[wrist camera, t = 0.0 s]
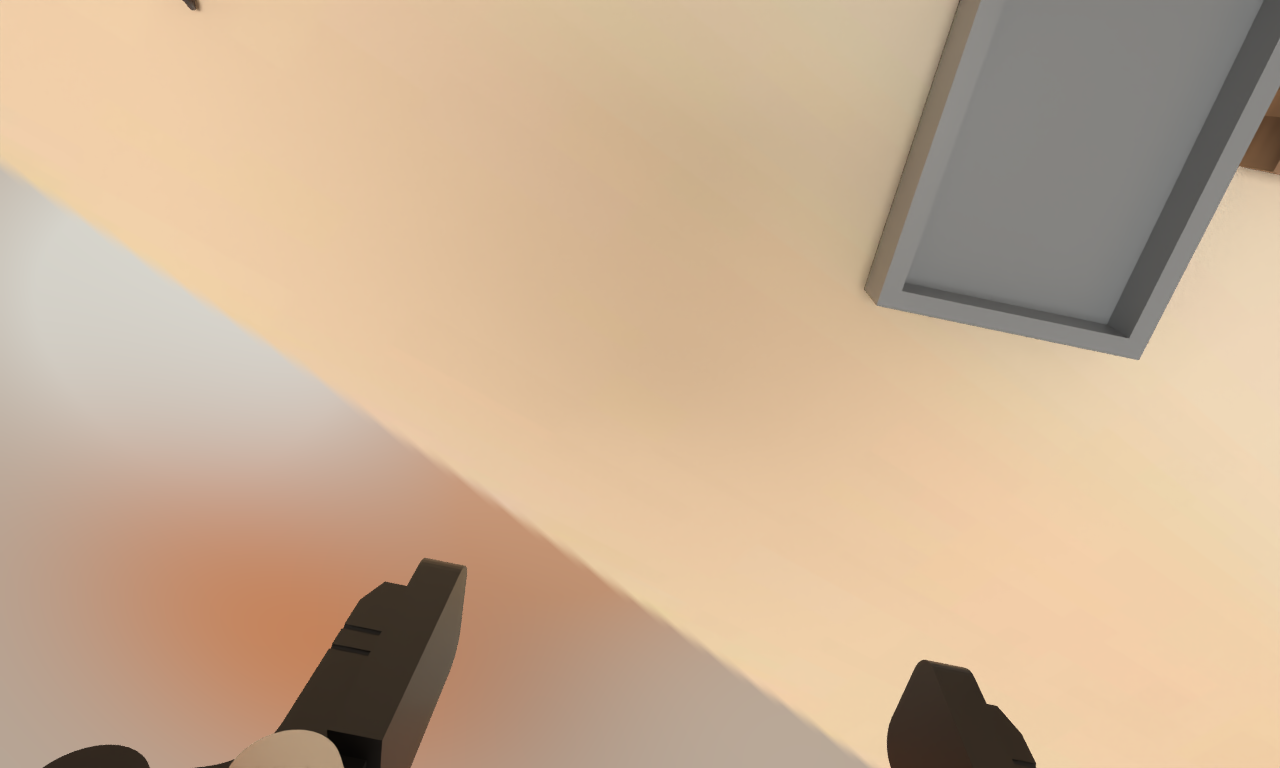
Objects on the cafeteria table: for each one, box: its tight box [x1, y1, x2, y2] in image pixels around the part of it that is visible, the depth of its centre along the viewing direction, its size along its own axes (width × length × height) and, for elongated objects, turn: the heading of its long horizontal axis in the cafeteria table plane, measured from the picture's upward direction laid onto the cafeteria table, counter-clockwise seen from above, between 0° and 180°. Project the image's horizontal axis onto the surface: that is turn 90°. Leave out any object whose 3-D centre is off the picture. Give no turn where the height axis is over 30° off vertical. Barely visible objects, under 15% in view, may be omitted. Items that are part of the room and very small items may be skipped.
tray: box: [864, 0, 1280, 360], centre depth 35 cm, size 20×14×3 cm
